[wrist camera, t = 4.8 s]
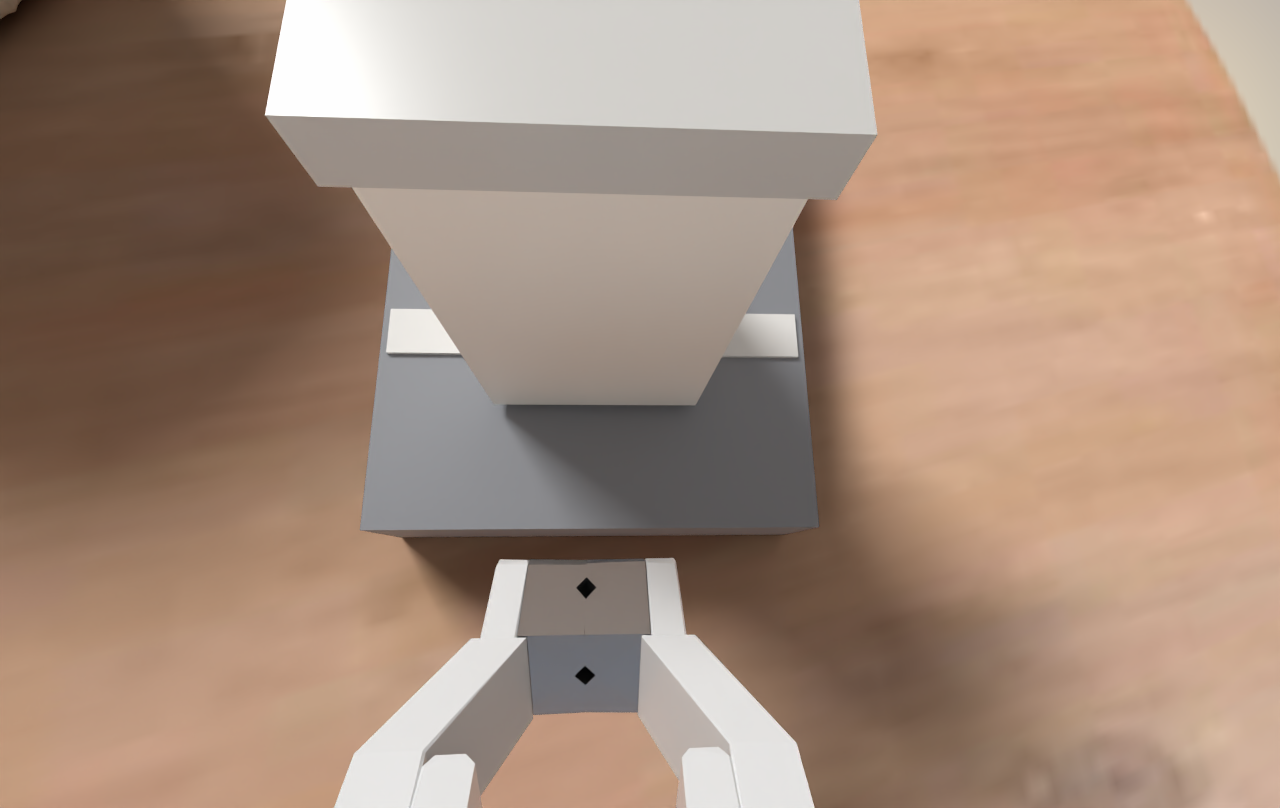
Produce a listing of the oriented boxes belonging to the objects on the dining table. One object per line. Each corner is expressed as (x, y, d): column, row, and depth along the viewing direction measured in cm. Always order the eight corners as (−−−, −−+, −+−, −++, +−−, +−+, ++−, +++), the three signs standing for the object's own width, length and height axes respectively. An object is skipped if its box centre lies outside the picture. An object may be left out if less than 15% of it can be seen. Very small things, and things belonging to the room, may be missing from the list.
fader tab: (703, 413, 15) (877, 134, 6) (484, 412, 15) (266, 114, 5) (697, 255, 16) (831, -200, 7) (495, 251, 16) (330, -233, 6)
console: (784, 534, 18) (820, 526, 15) (400, 537, 17) (357, 529, 14) (742, -40, 24) (762, -130, 21) (456, -54, 23) (434, -148, 20)
